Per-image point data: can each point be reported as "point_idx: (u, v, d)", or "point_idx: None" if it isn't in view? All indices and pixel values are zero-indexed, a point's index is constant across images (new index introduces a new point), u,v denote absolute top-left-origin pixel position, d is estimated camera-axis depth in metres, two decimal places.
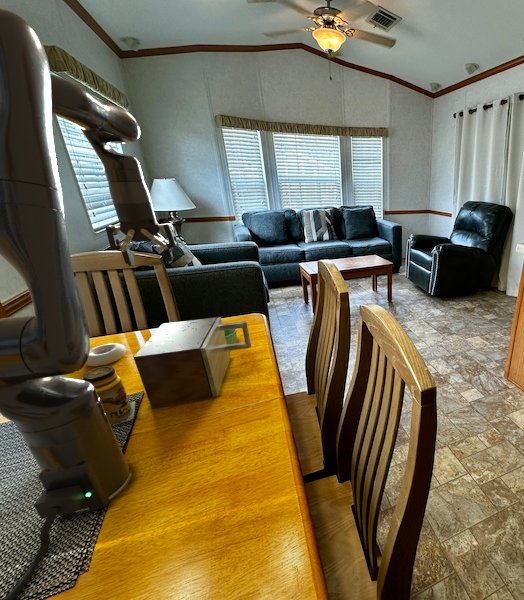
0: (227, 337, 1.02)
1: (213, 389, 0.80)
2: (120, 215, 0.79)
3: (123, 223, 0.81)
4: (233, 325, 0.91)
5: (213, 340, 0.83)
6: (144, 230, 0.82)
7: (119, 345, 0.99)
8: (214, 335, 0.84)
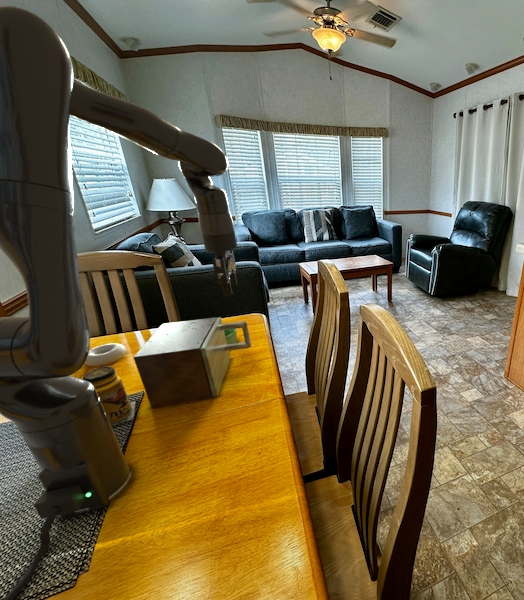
0: (227, 337, 1.02)
1: (213, 389, 0.80)
2: None
3: None
4: (233, 325, 0.91)
5: (213, 340, 0.83)
6: None
7: (119, 345, 0.99)
8: (214, 335, 0.84)
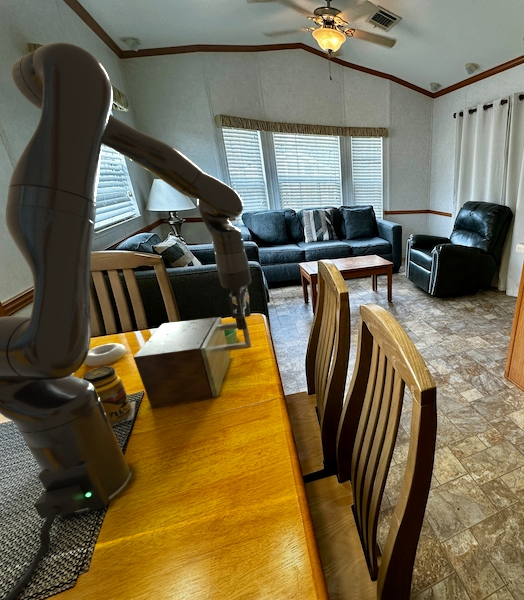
0: (227, 337, 1.02)
1: (213, 389, 0.80)
2: None
3: None
4: (233, 325, 0.91)
5: (213, 340, 0.83)
6: None
7: (119, 345, 0.99)
8: (214, 335, 0.84)
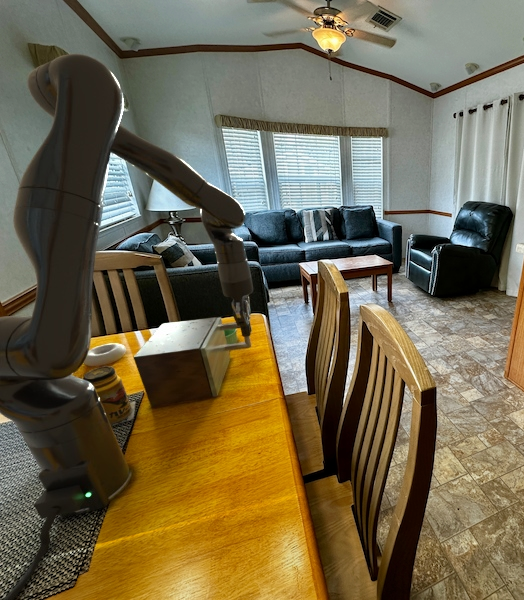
0: (227, 337, 1.02)
1: (213, 389, 0.80)
2: None
3: None
4: (233, 325, 0.91)
5: (213, 340, 0.83)
6: None
7: (119, 345, 0.99)
8: (214, 335, 0.84)
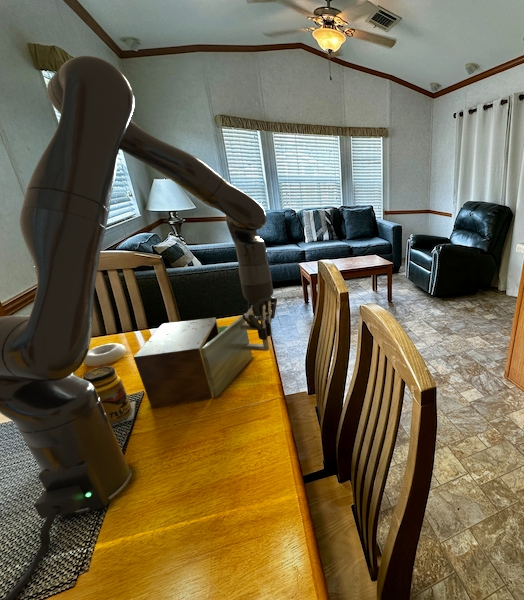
0: None
1: (213, 389, 0.80)
2: None
3: None
4: None
5: (223, 340, 0.83)
6: None
7: (119, 345, 0.99)
8: (226, 335, 0.84)
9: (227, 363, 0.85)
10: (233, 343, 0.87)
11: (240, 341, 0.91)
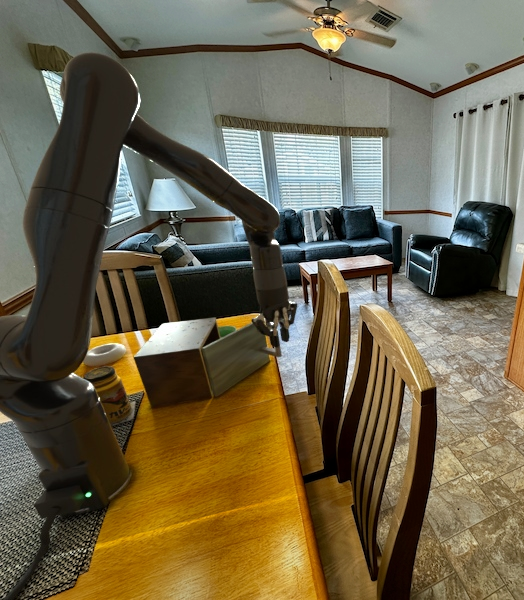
0: None
1: (213, 389, 0.80)
2: None
3: None
4: None
5: (231, 341, 0.82)
6: None
7: (119, 345, 0.99)
8: (236, 336, 0.84)
9: (234, 364, 0.84)
10: (244, 345, 0.87)
11: (254, 343, 0.90)
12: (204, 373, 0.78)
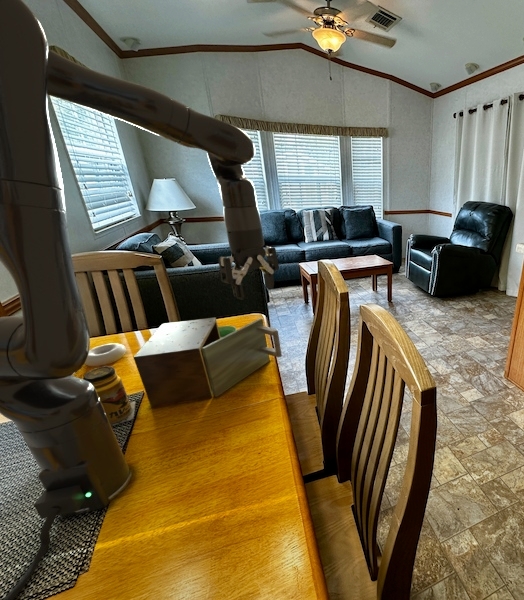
0: None
1: (213, 389, 0.80)
2: None
3: None
4: (265, 330, 0.88)
5: (231, 341, 0.82)
6: None
7: (119, 345, 0.99)
8: (236, 336, 0.84)
9: (234, 364, 0.84)
10: (244, 345, 0.87)
11: (254, 343, 0.90)
12: (204, 373, 0.78)
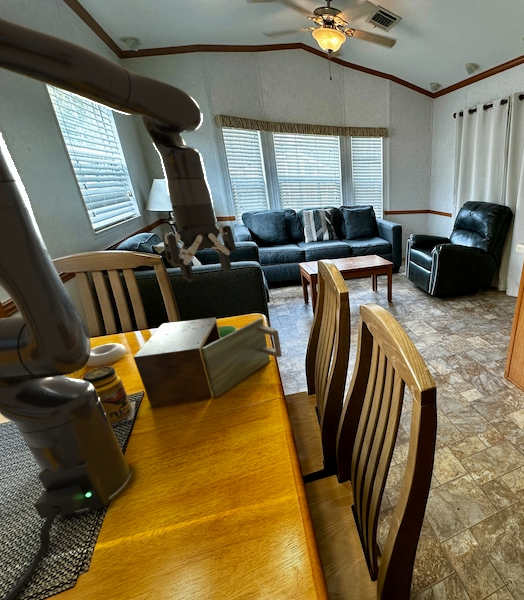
0: None
1: (213, 389, 0.80)
2: None
3: None
4: (265, 330, 0.88)
5: (231, 341, 0.82)
6: None
7: (119, 345, 0.99)
8: (236, 336, 0.84)
9: (234, 364, 0.84)
10: (244, 345, 0.87)
11: (254, 343, 0.90)
12: (204, 373, 0.78)
